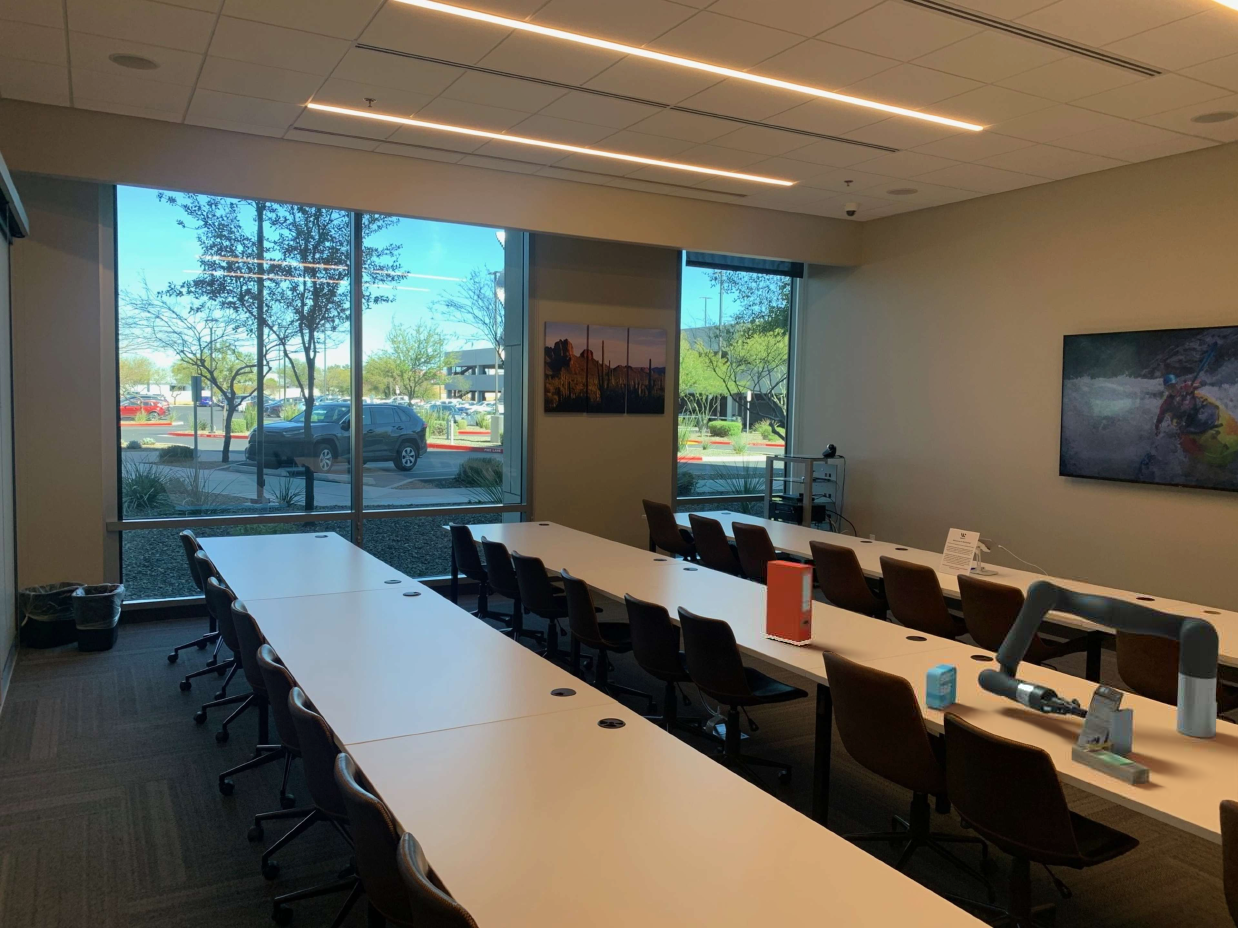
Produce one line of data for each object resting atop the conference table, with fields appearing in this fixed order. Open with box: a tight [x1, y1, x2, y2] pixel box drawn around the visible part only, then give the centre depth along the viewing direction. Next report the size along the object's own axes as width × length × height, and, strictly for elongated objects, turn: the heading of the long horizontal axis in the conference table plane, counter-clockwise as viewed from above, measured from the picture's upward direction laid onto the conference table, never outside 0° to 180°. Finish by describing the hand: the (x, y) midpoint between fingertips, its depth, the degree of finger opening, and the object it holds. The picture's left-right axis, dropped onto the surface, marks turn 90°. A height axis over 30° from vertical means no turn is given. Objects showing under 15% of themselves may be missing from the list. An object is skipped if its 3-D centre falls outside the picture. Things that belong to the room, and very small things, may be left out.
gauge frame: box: [1071, 744, 1150, 786], centre depth 232 cm, size 6×18×4 cm, turn 22°
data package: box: [925, 663, 958, 710], centre depth 284 cm, size 12×4×12 cm, turn 134°
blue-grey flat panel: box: [1087, 707, 1134, 757], centre depth 239 cm, size 16×2×12 cm, turn 112°
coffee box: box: [1077, 683, 1125, 750], centre depth 247 cm, size 9×6×16 cm
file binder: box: [765, 560, 814, 642], centre depth 364 cm, size 8×17×32 cm, turn 39°
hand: (1086, 714), depth 251 cm, fingers closed
